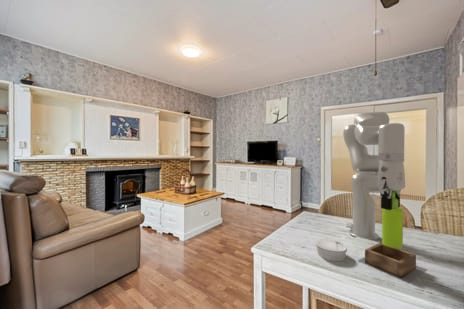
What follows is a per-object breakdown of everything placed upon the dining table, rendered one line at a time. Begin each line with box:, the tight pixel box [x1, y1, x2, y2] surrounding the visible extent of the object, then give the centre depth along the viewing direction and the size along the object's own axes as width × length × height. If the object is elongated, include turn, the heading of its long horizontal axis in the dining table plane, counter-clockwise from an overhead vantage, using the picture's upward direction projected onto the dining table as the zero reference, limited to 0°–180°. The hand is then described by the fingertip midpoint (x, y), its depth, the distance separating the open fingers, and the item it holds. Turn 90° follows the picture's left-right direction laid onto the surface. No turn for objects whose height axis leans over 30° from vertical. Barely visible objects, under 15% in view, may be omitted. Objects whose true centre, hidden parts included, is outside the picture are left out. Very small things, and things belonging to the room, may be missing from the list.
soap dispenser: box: [381, 190, 404, 249], centre depth 76 cm, size 6×7×20 cm
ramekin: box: [315, 238, 348, 262], centre depth 85 cm, size 11×11×5 cm
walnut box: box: [364, 242, 417, 279], centre depth 77 cm, size 11×11×5 cm
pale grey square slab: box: [357, 256, 428, 284], centre depth 77 cm, size 16×15×1 cm
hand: (390, 207), depth 76 cm, fingers closed on soap dispenser, 5 cm apart
